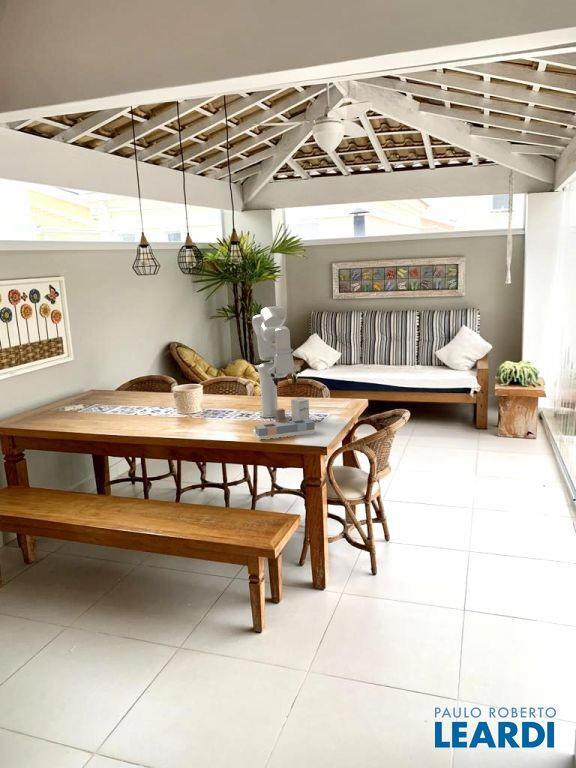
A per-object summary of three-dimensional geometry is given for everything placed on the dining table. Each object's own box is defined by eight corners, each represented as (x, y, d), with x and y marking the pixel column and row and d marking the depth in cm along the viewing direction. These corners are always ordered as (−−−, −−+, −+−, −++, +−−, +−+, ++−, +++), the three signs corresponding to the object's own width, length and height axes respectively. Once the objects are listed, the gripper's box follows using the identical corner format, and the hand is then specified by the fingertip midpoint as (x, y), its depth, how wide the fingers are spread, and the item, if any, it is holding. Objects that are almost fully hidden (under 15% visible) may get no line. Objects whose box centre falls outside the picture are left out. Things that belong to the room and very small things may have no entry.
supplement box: (299, 423, 334) (298, 401, 331) (291, 421, 339) (290, 399, 337) (309, 421, 338) (308, 399, 335) (301, 418, 344) (300, 397, 341)
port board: (252, 433, 318) (252, 422, 317) (306, 426, 326) (305, 416, 325) (259, 440, 304) (258, 429, 303) (315, 433, 312) (314, 422, 311)
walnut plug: (276, 427, 321) (275, 409, 319) (283, 426, 322) (282, 408, 320) (278, 428, 317) (277, 410, 315) (285, 428, 318) (284, 409, 316)
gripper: (297, 349, 314) (298, 381, 317) (265, 352, 309) (267, 385, 312) (301, 351, 307) (303, 383, 310) (269, 354, 302) (271, 387, 305)
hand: (285, 384), depth 311 cm, fingers open, 9 cm apart
